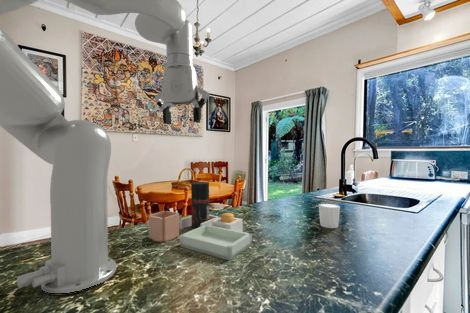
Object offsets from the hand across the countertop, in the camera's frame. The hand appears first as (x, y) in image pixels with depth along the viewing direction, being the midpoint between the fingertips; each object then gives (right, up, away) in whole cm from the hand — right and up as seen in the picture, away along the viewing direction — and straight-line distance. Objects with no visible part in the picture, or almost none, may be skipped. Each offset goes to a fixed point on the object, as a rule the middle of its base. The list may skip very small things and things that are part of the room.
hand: (181, 123), depth 68 cm
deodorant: (+4, -34, +10) cm, 36 cm away
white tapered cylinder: (+48, -34, +11) cm, 60 cm away
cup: (-5, -34, +1) cm, 34 cm away
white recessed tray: (+8, -34, +7) cm, 36 cm away
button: (+13, -33, +4) cm, 35 cm away
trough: (+11, -34, -6) cm, 36 cm away
